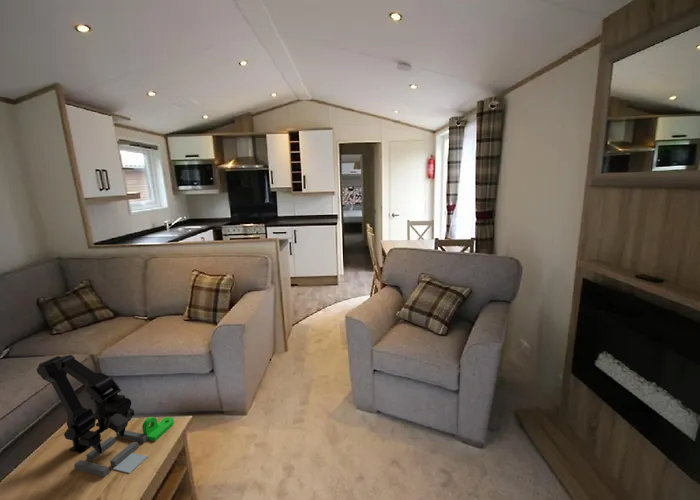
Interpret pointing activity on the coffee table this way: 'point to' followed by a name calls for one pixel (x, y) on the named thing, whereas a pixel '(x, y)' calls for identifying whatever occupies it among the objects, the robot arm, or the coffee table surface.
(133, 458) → the felt pad
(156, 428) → the mechanical part
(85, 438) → the robot arm
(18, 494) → the coffee table surface
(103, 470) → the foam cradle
